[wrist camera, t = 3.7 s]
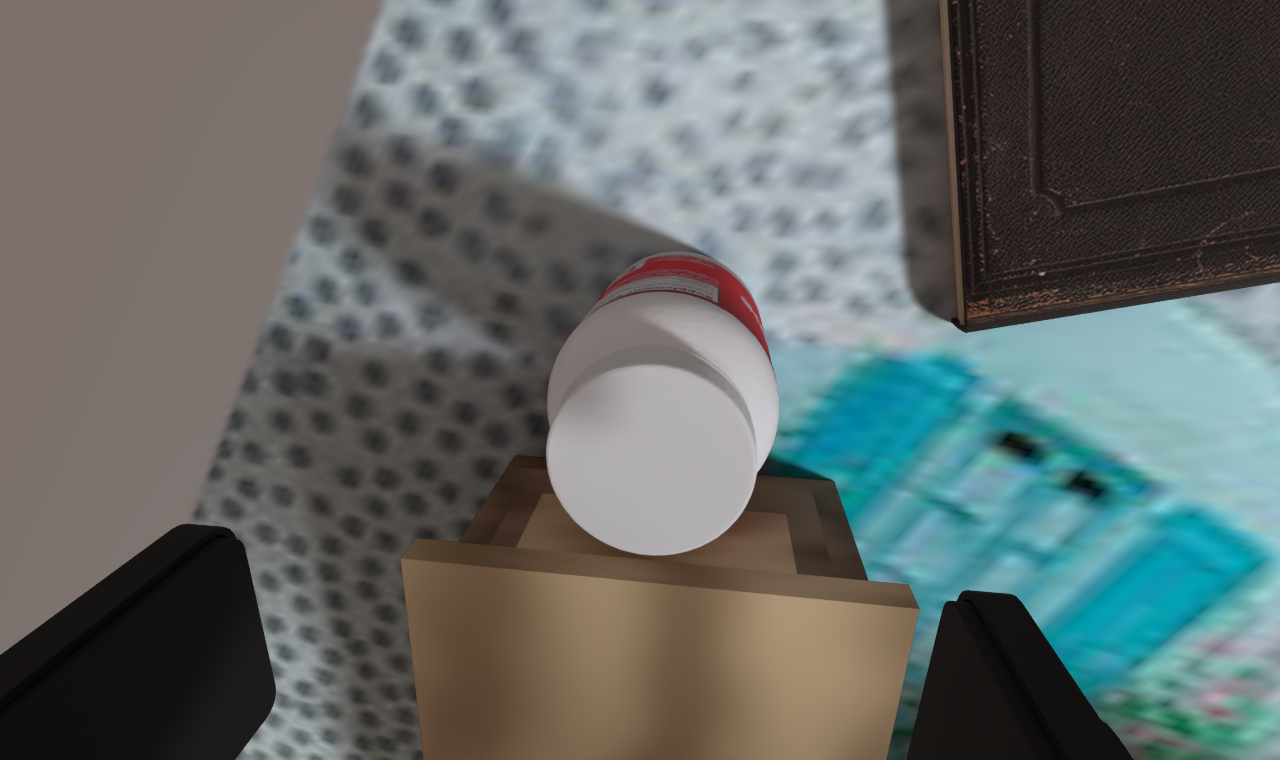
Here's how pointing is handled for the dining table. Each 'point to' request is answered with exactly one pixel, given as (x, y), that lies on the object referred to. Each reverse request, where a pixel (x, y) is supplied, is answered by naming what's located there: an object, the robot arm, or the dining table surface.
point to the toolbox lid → (650, 649)
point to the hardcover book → (1109, 153)
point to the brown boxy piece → (805, 502)
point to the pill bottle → (662, 407)
